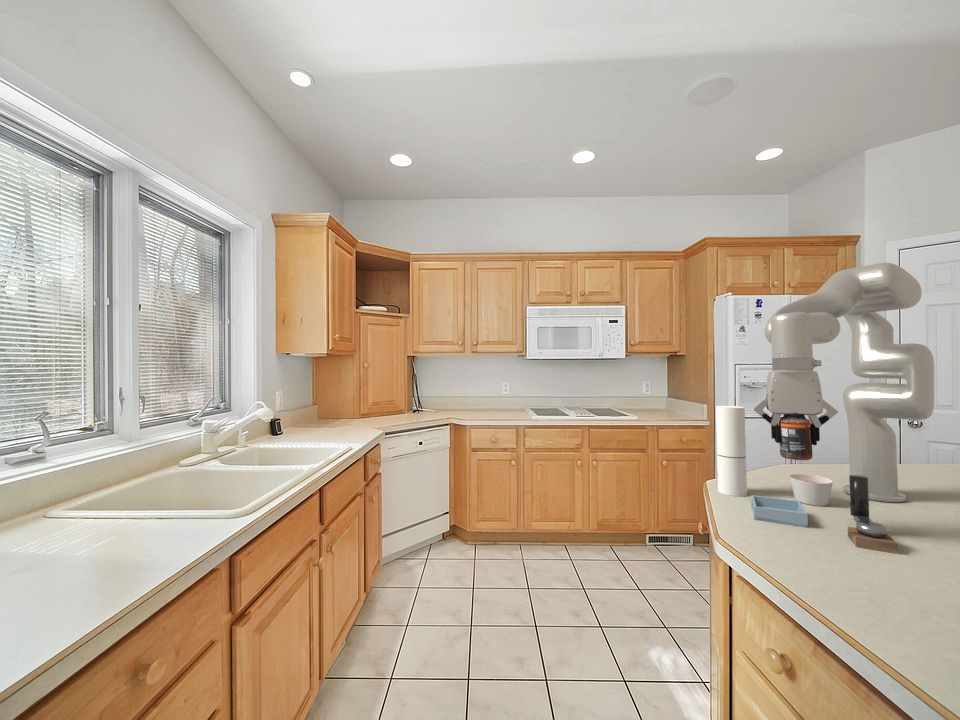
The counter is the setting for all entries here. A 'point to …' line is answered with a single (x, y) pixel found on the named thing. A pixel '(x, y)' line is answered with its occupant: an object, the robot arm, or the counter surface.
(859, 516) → the crank
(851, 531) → the crank base
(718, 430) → the cylindrical container
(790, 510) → the tray
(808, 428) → the supplement bottle
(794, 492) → the white bowl
